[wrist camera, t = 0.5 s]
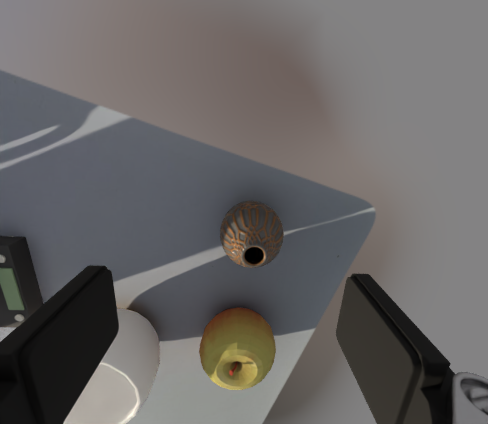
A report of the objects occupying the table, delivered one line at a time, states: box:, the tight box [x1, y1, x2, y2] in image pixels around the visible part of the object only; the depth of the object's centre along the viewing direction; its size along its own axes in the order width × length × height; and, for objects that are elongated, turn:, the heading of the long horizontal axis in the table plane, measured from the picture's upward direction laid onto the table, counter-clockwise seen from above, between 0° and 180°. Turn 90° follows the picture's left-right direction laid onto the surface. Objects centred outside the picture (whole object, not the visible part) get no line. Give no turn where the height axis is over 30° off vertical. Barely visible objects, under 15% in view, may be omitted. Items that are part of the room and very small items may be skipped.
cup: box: [64, 309, 160, 424], centre depth 31 cm, size 12×12×10 cm
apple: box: [199, 307, 276, 390], centre depth 32 cm, size 10×10×8 cm
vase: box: [220, 201, 283, 268], centre depth 26 cm, size 7×7×9 cm
